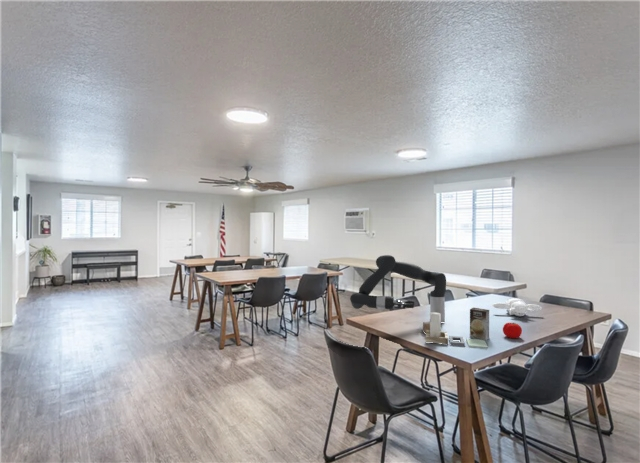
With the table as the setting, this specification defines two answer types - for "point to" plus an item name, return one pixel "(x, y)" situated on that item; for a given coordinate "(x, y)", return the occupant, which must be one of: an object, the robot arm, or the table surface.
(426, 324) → the walnut block
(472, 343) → the pad
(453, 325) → the table surface
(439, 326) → the white tall block
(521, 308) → the white quadcopter drone
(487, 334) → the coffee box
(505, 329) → the tomato
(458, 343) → the hole plate
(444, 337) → the cubby
